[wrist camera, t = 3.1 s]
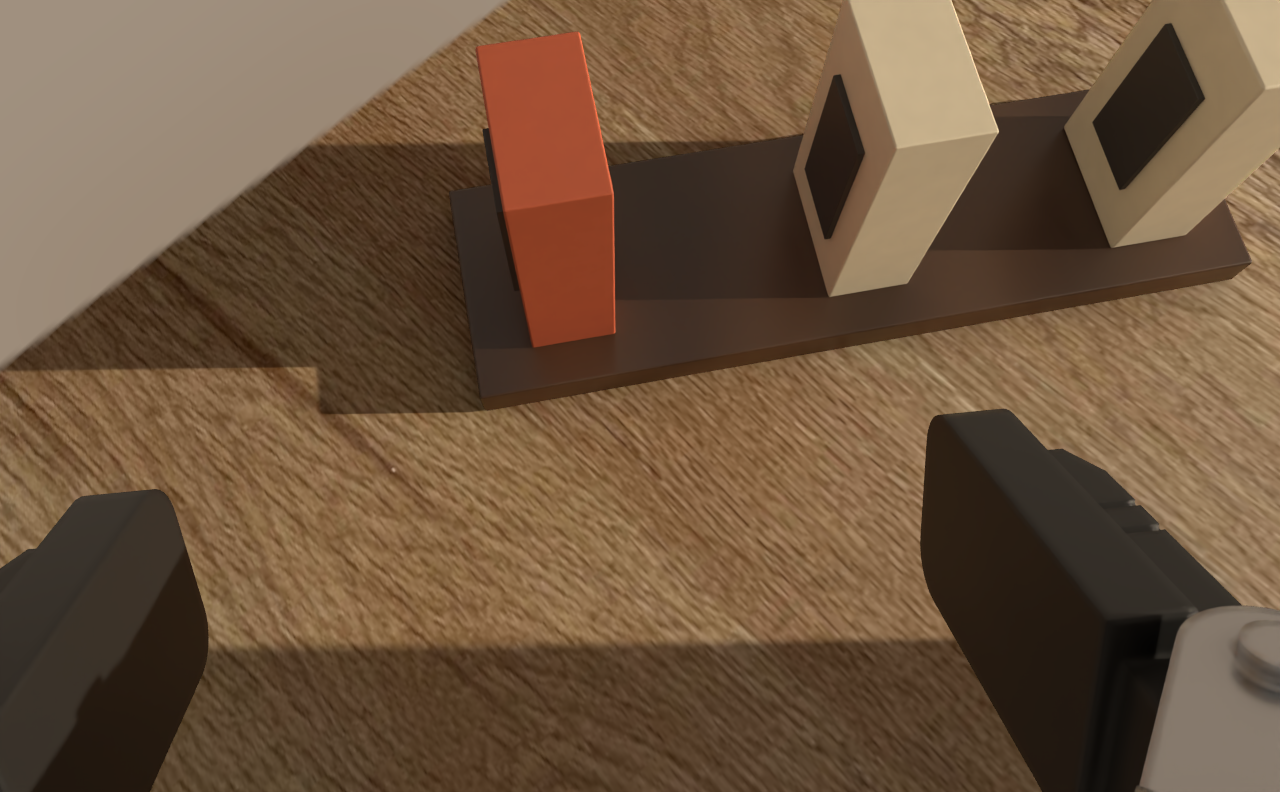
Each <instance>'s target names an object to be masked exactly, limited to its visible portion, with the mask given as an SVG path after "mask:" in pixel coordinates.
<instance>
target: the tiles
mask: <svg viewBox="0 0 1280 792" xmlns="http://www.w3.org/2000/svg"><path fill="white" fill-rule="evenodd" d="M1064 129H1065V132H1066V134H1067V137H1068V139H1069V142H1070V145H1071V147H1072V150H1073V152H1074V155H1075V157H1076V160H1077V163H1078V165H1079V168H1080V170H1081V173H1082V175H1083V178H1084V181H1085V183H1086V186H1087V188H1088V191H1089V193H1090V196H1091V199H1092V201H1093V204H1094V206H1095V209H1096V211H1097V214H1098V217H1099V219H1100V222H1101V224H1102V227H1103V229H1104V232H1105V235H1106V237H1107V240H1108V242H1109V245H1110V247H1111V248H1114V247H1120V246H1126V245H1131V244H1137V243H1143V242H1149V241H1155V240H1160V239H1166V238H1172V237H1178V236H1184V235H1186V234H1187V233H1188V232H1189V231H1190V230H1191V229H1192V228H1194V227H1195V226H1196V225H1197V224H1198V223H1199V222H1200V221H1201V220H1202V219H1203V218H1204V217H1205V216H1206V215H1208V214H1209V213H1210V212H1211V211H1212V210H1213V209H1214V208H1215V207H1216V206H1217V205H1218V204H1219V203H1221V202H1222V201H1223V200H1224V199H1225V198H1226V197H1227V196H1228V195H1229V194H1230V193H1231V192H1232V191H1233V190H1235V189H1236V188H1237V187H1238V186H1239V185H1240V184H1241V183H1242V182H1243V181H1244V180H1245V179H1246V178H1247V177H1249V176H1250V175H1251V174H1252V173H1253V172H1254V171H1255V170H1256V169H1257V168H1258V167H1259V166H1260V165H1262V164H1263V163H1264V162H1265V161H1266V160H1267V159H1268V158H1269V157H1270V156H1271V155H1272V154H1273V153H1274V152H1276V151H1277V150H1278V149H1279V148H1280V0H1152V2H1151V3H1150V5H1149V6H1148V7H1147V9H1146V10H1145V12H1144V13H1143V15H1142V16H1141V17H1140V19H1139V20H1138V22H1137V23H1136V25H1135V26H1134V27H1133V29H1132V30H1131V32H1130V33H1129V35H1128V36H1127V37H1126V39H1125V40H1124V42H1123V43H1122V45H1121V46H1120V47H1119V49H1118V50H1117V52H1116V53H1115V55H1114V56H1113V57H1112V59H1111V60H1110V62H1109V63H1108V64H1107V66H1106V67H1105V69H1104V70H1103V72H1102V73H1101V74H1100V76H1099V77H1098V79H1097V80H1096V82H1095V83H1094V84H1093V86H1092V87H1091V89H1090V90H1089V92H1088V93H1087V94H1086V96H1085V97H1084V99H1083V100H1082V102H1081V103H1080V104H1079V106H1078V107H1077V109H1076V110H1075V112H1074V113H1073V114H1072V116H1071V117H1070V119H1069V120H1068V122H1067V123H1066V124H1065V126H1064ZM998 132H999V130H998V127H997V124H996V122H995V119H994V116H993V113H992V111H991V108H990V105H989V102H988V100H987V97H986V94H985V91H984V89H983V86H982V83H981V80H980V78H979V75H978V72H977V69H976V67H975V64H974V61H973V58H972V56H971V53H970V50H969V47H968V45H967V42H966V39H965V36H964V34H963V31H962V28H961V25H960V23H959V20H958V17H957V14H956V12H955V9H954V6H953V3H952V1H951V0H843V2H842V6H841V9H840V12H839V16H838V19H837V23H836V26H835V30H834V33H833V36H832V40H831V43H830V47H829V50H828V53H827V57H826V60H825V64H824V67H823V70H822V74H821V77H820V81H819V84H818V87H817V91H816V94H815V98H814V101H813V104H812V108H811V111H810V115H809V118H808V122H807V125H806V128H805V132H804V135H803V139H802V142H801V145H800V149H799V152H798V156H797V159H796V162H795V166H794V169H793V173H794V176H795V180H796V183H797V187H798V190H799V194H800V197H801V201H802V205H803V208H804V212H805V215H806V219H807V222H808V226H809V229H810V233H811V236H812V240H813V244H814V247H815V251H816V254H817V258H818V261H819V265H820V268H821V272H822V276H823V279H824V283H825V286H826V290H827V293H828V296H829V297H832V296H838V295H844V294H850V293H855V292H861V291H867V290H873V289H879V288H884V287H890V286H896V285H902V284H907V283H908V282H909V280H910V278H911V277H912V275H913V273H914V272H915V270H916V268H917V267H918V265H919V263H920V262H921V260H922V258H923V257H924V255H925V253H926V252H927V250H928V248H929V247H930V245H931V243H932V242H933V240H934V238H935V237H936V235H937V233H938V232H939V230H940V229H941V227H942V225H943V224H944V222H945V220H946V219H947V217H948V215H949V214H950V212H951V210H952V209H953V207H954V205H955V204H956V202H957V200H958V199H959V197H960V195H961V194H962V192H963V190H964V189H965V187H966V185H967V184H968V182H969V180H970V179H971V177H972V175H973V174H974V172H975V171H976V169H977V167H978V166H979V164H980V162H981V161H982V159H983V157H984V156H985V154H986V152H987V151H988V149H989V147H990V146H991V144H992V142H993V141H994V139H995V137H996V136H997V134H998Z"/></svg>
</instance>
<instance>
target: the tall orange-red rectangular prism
mask: <svg viewBox="0 0 1280 792" xmlns="http://www.w3.org/2000/svg"><path fill="white" fill-rule="evenodd" d="M475 50H476V56H477V62H478V68H479V74H480V80H481V85H482V91H483V97H484V103H485V109H486V115H487V121H488V127H489V128H487V129H483V136H484V142H485V148H486V154H487V160H488V166H489V172H490V178H491V184H492V190H493V196H494V202H495V208H496V213H497V218H498V222H499V226H500V231H501V235H502V240H503V244H504V248H505V253H506V257H507V262H508V266H509V270H510V275H511V279H512V284H513V288H514V291H519V290H520V293H521V298H522V302H523V307H524V312H525V316H526V321H527V326H528V330H529V335H530V340H531V344H532V347H540V346H546V345H552V344H557V343H563V342H569V341H575V340H581V339H586V338H592V337H598V336H604V335H610V334H614V333H615V254H614V191H613V186H612V182H611V177H610V172H609V168H608V163H607V158H606V154H605V149H604V144H603V139H602V135H601V130H600V125H599V121H598V116H597V111H596V106H595V102H594V97H593V92H592V88H591V83H590V78H589V74H588V69H587V64H586V59H585V55H584V50H583V45H582V41H581V36H580V33H579V32H570V33H564V34H557V35H550V36H543V37H537V38H530V39H523V40H516V41H509V42H503V43H496V44H489V45H482V46H477V47H476V49H475Z"/></svg>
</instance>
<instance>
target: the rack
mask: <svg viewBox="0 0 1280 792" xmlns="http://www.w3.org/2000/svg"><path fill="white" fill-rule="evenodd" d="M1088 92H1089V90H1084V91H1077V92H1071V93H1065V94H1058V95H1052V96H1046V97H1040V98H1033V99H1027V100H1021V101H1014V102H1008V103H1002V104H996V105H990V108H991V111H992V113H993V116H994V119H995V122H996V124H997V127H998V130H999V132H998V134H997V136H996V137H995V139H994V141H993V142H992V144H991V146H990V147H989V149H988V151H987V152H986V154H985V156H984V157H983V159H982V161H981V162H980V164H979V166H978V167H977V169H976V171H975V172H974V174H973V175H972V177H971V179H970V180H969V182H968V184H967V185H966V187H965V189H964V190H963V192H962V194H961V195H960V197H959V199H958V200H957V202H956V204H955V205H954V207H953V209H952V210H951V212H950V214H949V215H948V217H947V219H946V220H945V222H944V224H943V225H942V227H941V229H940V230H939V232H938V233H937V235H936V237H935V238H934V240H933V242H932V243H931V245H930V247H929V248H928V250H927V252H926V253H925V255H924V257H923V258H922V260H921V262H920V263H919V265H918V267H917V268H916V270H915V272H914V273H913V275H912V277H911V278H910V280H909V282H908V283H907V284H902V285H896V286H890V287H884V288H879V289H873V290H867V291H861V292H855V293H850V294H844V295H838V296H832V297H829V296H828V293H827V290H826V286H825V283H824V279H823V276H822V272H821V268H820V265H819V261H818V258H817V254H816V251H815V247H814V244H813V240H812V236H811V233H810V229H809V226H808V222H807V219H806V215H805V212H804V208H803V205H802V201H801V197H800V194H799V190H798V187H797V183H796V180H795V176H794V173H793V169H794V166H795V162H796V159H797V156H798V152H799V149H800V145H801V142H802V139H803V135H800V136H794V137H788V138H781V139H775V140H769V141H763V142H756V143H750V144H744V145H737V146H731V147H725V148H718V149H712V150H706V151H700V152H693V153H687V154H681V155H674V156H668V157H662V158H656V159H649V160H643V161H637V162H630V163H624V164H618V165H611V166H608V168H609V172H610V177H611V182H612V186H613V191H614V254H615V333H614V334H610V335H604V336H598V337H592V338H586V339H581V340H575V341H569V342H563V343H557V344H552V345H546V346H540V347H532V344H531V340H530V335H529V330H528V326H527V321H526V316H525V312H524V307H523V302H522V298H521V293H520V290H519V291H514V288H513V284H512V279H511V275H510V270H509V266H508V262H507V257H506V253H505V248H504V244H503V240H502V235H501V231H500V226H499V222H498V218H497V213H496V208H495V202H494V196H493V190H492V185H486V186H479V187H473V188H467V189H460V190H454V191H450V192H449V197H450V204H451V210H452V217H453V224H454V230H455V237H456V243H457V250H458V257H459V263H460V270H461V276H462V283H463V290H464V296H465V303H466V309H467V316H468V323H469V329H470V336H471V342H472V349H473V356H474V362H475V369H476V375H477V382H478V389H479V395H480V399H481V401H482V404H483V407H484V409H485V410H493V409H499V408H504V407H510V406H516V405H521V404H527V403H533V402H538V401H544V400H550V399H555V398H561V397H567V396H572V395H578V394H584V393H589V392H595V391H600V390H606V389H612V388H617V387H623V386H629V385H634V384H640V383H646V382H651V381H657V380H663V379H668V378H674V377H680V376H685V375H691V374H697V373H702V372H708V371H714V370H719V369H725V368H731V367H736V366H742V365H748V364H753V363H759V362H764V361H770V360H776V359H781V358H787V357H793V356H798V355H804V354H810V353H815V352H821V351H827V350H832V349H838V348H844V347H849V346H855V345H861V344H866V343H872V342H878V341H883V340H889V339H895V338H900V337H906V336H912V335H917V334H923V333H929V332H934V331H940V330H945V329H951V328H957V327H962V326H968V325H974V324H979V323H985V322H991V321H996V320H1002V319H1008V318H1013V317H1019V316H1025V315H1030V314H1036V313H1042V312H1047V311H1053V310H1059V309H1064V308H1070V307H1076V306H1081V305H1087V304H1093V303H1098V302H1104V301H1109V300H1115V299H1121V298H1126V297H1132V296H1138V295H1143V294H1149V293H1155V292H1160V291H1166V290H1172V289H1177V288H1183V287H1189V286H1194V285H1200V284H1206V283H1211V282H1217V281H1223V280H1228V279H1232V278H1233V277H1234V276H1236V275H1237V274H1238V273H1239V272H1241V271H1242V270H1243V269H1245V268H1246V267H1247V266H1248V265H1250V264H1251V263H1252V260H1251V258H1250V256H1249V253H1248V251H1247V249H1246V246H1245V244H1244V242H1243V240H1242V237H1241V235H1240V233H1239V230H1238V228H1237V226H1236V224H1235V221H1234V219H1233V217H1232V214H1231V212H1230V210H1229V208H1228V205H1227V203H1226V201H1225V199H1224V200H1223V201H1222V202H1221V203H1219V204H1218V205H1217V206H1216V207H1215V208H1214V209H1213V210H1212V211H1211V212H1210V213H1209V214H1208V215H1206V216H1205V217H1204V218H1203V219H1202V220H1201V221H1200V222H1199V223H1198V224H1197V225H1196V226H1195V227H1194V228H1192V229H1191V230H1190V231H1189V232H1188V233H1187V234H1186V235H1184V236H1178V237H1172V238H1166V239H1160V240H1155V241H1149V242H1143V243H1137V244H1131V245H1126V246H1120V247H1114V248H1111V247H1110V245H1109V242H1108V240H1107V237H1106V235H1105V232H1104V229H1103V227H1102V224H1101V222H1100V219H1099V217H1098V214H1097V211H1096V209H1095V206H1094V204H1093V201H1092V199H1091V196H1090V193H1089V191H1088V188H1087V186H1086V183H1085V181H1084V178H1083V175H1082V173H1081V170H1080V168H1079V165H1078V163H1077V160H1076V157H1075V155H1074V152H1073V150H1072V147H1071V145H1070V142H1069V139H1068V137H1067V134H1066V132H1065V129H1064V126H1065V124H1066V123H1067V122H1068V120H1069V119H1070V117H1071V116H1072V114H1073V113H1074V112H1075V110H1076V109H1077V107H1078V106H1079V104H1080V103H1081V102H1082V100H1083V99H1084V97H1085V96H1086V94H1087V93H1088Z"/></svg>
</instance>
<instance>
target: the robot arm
mask: <svg viewBox="0 0 1280 792" xmlns="http://www.w3.org/2000/svg"><path fill="white" fill-rule="evenodd" d="M920 546H921V559H922V566H923V571H924V576H925V580H926V583H927V586H928V589H929V592H930V594H931V596H932V598H933V600H934V602H935V604H936V606H937V607H938V609H939V611H940V613H941V614H942V616H943V618H944V620H945V621H946V623H947V625H948V627H949V628H950V630H951V632H952V634H953V636H954V637H955V639H956V641H957V643H958V644H959V646H960V648H961V650H962V651H963V653H964V655H965V657H966V658H967V660H968V662H969V664H970V665H971V667H972V669H973V671H974V672H975V674H976V676H977V678H978V679H979V681H980V683H981V685H982V686H983V688H984V690H985V692H986V693H987V695H988V697H989V699H990V700H991V702H992V704H993V706H994V708H995V709H996V711H997V713H998V715H999V716H1000V718H1001V720H1002V722H1003V723H1004V725H1005V727H1006V729H1007V730H1008V732H1009V734H1010V736H1011V737H1012V739H1013V741H1014V743H1015V744H1016V746H1017V748H1018V750H1019V751H1020V753H1021V755H1022V757H1023V758H1024V760H1025V762H1026V764H1027V765H1028V767H1029V769H1030V771H1031V772H1032V774H1033V776H1034V778H1035V780H1036V781H1037V783H1038V785H1039V787H1040V788H1041V790H1042V792H1280V611H1279V610H1274V609H1270V608H1263V607H1255V606H1242V605H1241V604H1240V603H1239V602H1238V601H1237V600H1236V599H1235V598H1234V597H1233V596H1232V595H1231V594H1230V593H1229V592H1228V591H1227V590H1226V589H1225V588H1224V587H1223V586H1222V585H1221V584H1220V583H1219V582H1218V581H1217V580H1216V579H1215V578H1214V577H1213V576H1212V575H1211V574H1210V573H1209V572H1208V571H1207V570H1205V569H1204V568H1203V567H1202V566H1201V565H1200V564H1199V563H1198V562H1197V561H1196V560H1195V559H1194V558H1193V557H1192V556H1191V555H1190V554H1189V553H1188V552H1187V551H1186V550H1185V549H1184V548H1183V547H1182V546H1181V545H1180V544H1179V543H1178V542H1177V541H1176V540H1175V539H1174V538H1173V537H1172V536H1171V535H1170V534H1169V533H1168V532H1167V531H1166V530H1160V529H1159V523H1158V522H1157V521H1156V520H1155V519H1154V518H1153V517H1152V516H1151V515H1150V514H1149V513H1148V512H1147V511H1146V510H1145V509H1144V508H1143V507H1142V506H1141V505H1139V506H1136V505H1135V499H1134V498H1133V497H1132V496H1131V495H1130V494H1129V493H1128V492H1127V491H1126V490H1125V489H1123V488H1122V487H1121V486H1120V485H1119V484H1118V483H1117V482H1116V481H1115V480H1114V479H1113V478H1112V477H1111V476H1110V475H1109V474H1108V473H1107V472H1106V471H1105V470H1103V469H1101V468H1099V467H1097V466H1095V465H1093V464H1091V463H1089V462H1087V461H1085V460H1083V459H1081V458H1079V457H1077V456H1075V455H1073V454H1071V453H1069V452H1067V451H1065V450H1063V449H1055V450H1047V449H1046V448H1045V447H1044V446H1043V445H1042V444H1041V443H1040V441H1039V440H1038V439H1037V438H1036V437H1035V436H1034V435H1033V434H1032V433H1031V432H1030V431H1029V430H1028V429H1027V428H1026V427H1025V426H1024V425H1023V423H1022V422H1021V421H1020V420H1019V419H1018V418H1017V417H1016V416H1015V415H1014V414H1013V413H1012V412H1011V411H1009V410H1007V409H996V410H986V411H975V412H965V413H955V414H944V415H937V416H935V417H934V418H933V419H932V421H931V423H930V426H929V429H928V434H927V446H926V461H925V476H924V492H923V507H922V523H921V540H920ZM207 654H208V623H207V617H206V612H205V609H204V605H203V602H202V599H201V595H200V592H199V589H198V586H197V582H196V579H195V576H194V572H193V569H192V566H191V563H190V559H189V556H188V553H187V549H186V546H185V543H184V540H183V536H182V533H181V530H180V526H179V523H178V520H177V517H176V513H175V511H174V508H173V505H172V503H171V501H170V500H169V498H168V497H167V495H166V494H165V493H164V492H162V491H161V490H158V489H152V490H142V491H132V492H121V493H111V494H101V495H90V496H83V497H80V498H78V499H76V500H75V501H74V502H73V504H72V505H71V506H70V507H69V509H68V510H67V511H66V512H65V514H64V515H63V516H62V517H61V519H60V520H59V521H58V522H57V524H56V525H55V526H54V527H53V528H52V530H51V531H50V532H49V533H48V535H47V536H46V537H45V538H44V540H43V541H42V542H41V543H40V545H39V546H38V547H37V548H36V549H28V550H26V551H25V552H23V553H22V554H21V555H19V556H18V557H16V558H15V559H13V560H12V561H10V562H9V563H8V564H6V565H5V566H3V567H2V568H0V792H150V790H151V788H152V785H153V783H154V781H155V779H156V777H157V774H158V772H159V770H160V768H161V765H162V763H163V761H164V759H165V757H166V754H167V752H168V750H169V748H170V745H171V743H172V741H173V739H174V737H175V734H176V732H177V730H178V728H179V725H180V723H181V721H182V719H183V716H184V714H185V712H186V710H187V708H188V705H189V703H190V701H191V699H192V696H193V694H194V692H195V690H196V688H197V685H198V683H199V681H200V679H201V676H202V674H203V671H204V668H205V665H206V660H207Z"/></svg>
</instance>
